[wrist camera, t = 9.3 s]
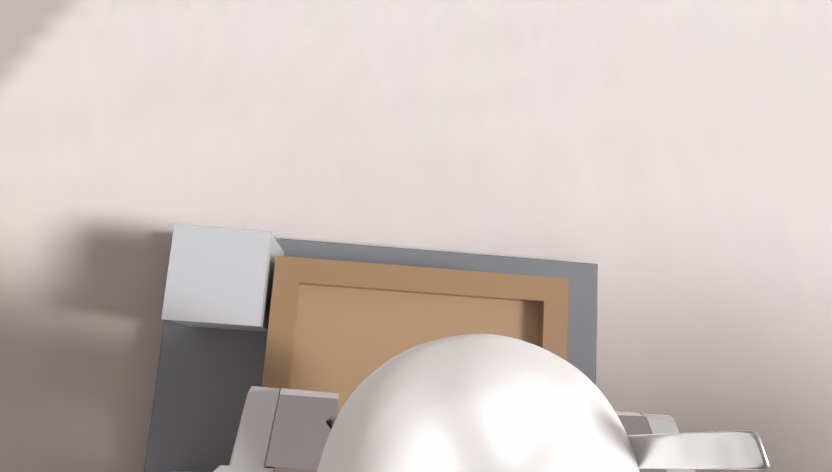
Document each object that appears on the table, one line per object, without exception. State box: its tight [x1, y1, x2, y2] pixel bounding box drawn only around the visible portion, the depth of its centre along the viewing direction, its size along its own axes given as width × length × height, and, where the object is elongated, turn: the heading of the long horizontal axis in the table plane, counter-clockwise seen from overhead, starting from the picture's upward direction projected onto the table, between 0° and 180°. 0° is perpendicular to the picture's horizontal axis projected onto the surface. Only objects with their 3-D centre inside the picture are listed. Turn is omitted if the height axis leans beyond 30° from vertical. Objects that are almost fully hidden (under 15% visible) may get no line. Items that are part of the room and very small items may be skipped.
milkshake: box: [317, 334, 770, 472], centre depth 12 cm, size 4×5×10 cm
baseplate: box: [144, 224, 598, 472], centre depth 24 cm, size 16×12×5 cm
